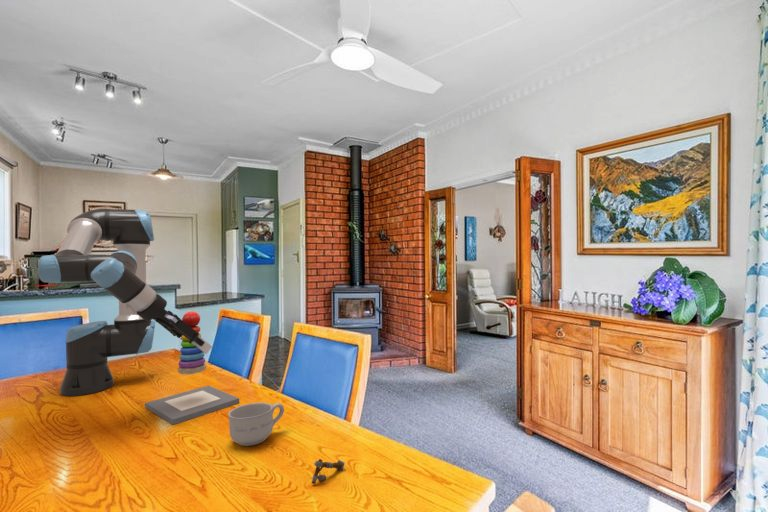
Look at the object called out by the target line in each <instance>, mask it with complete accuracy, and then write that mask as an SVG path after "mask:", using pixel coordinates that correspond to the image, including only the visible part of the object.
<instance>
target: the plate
mask: <svg viewBox="0 0 768 512" xmlns="http://www.w3.org/2000/svg"><path fill="white" fill-rule="evenodd" d="M144 403H145V404H144V408H145V409H147V410H148V411H150V412H151V413H153V414H155V415H156V416H158V417H160V418H161V419H162V420H164V421H166V422H168V423H169V424H171V425H173V426H174V425H177V424H180V423H182V422H183V423H184V422H186V421H188V420H192V419H195V418H198V417H201V416H204V415H208V414H210V413H214V412H216V411H219V410H222V409H226V408H229V407H231V406H235V405H237V404H240V398H239V397H237V396H234V395H232V394H230V393H227V392H225V391H223V390H220V389H218V388H215V387H214V386H211V385H206V386H202V387H198V388H195V389H190V390H187V391H184V392H180V393H177V394H173V395H169V396H166V397H162V398H158V399H154V400H150V401H147V402H144Z"/></svg>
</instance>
